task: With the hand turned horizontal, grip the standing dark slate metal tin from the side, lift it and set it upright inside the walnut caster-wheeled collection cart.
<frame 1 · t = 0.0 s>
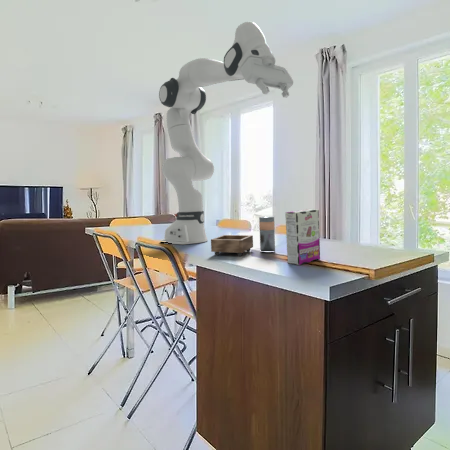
hand: (276, 94, 118), 54 cm above the worktop, tool tilted 30°, fingers open, 8 cm apart
candy bar box: (303, 262, 115), on the worktop
slate tin: (267, 251, 134), on the worktop
caster cart: (232, 253, 134), on the worktop
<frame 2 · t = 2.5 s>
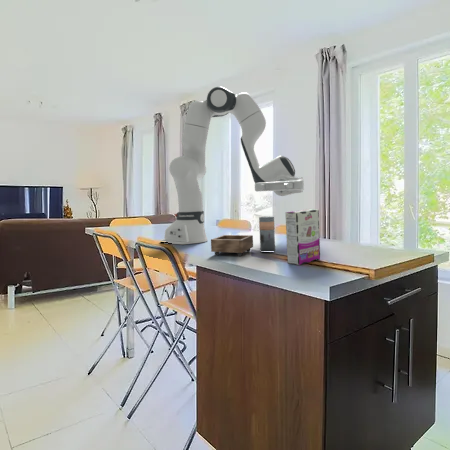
hand: (274, 186, 142), 24 cm above the worktop, tool horizontal, fingers open, 8 cm apart
nothing on the worktop moved.
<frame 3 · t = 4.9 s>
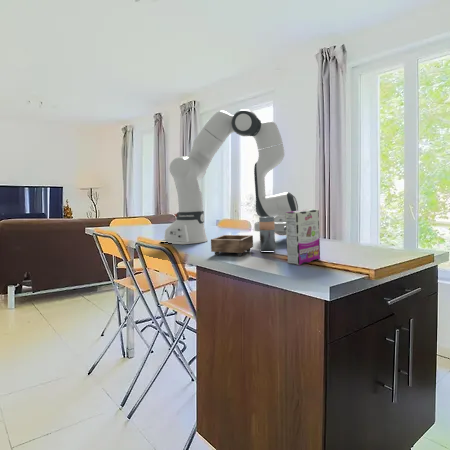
hand: (274, 228, 142), 7 cm above the worktop, tool horizontal, fingers open, 8 cm apart
nothing on the worktop moved.
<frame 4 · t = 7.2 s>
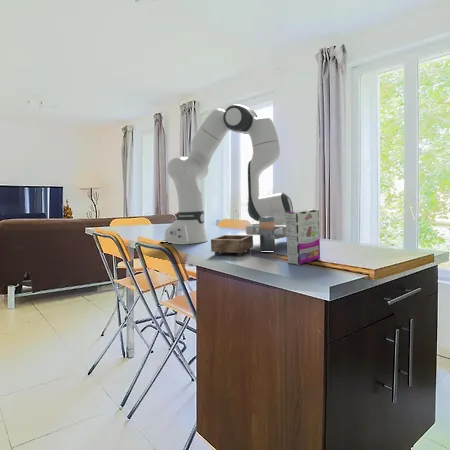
hand: (266, 232, 132), 8 cm above the worktop, tool horizontal, fingers closed on slate tin, 5 cm apart
slate tin: (267, 251, 134), on the worktop, touching gripper
everything else where it was.
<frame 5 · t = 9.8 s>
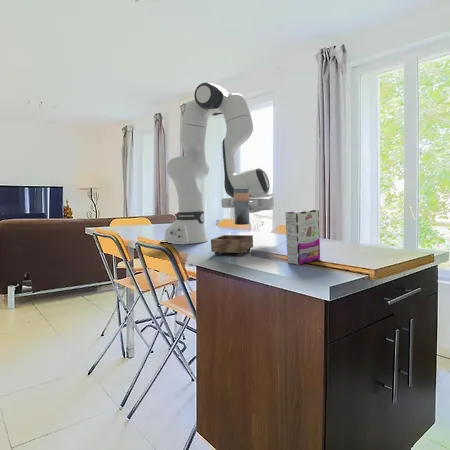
hand: (240, 203, 132), 18 cm above the worktop, tool horizontal, fingers closed on slate tin, 5 cm apart
slate tin: (242, 223, 133), point 11 cm above the worktop, touching gripper
everything else where it was.
when the fingers open (12 cm above the worktop, at t = 12.3 s): slate tin drops 1 cm, resting on caster cart.
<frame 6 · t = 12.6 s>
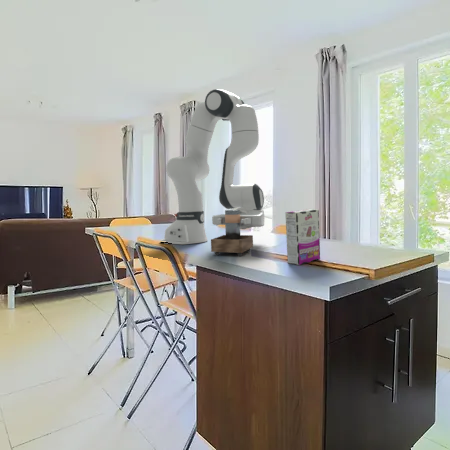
hand: (230, 221, 132), 12 cm above the worktop, tool horizontal, fingers open, 8 cm apart
slate tin: (233, 245, 134), point 3 cm above the worktop, touching caster cart
everything else where it was.
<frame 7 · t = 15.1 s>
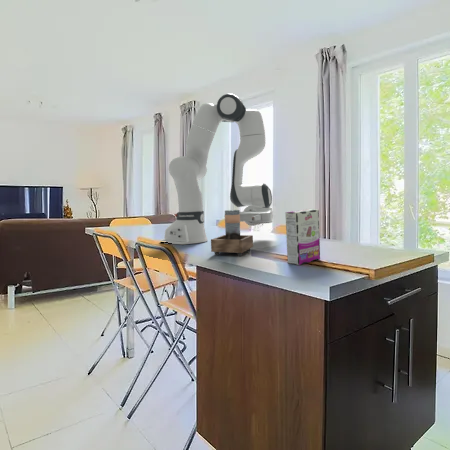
hand: (242, 218, 143), 12 cm above the worktop, tool horizontal, fingers open, 8 cm apart
nothing on the worktop moved.
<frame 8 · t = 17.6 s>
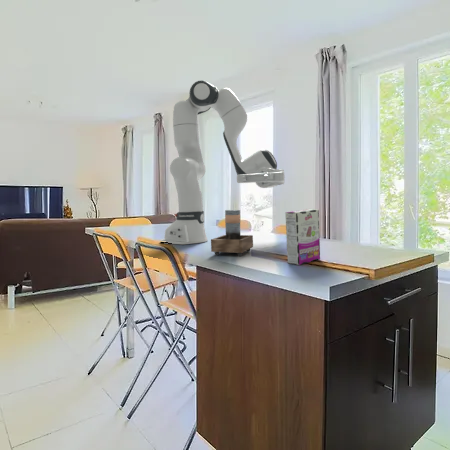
hand: (255, 177, 145), 28 cm above the worktop, tool horizontal, fingers open, 8 cm apart
nothing on the worktop moved.
at the end: slate tin 0.2 cm off-centre on the caster cart, point 3.1 cm above the caster cart's base; slate tin tilted 1°; the gripper is holding nothing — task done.
